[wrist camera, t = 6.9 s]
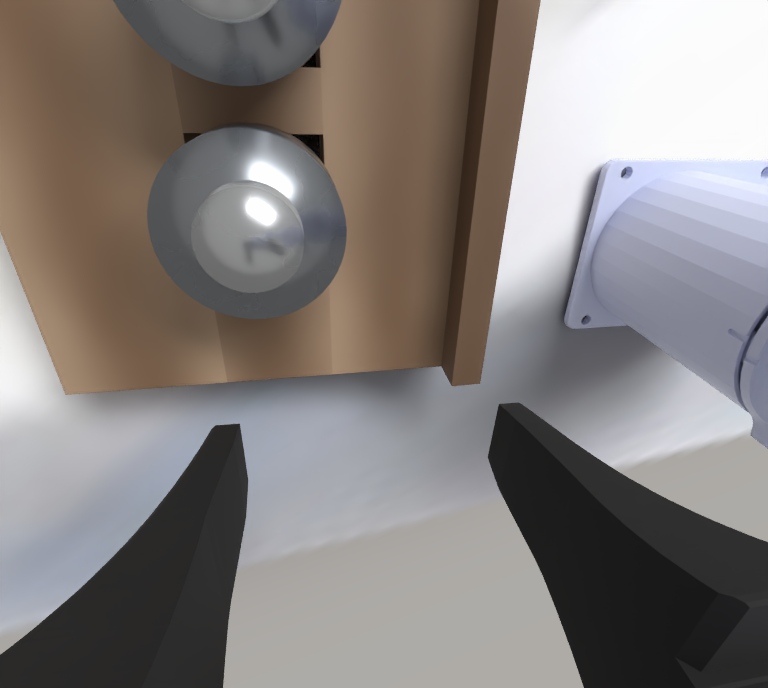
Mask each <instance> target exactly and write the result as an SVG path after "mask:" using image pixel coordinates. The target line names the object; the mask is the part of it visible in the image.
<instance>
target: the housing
mask: <svg viewBox="0 0 768 688" xmlns="http://www.w3.org/2000/svg"><path fill="white" fill-rule="evenodd" d="M539 7H540V0H342V1H341V5H340V8H339V11H338V13H337V16H336V19H335V21H334V24H333V26H332V27H331V29H330V31H329V33H328V35H327V37H326V38H325V40H324V41H323V43H322V44H321V45H320V47H319V48H318V49H317V51H316V52H315V55H316V68H312V67H300V68H299V69H297V70H296V71H295V72H293V73H292V74H290V75H288V76H286V77H284V78H282V79H280V80H277V81H274V82H271V83H266V84H261V85H254V86H231V85H223V84H219V83H214V82H210V81H207V80H204V79H202V78H199V77H196V76H194V75H192V74H190V73H188V72H186V71H184V70H182V69H180V68H178V67H177V66H175V65H174V64H172V63H171V62H169V61H168V60H166V59H165V58H164V57H162V56H161V55H160V54H159V53H157V52H156V51H155V50H154V49H153V48H152V47H150V46H149V45H148V44H147V43H146V42H145V41H144V40H143V39H142V38H141V37H140V36H139V35H138V33H137V32H136V31H135V30H134V29H133V28H132V27H131V25H130V24H129V23H128V22H127V20H126V19H125V18H124V16H123V15H122V14H121V12H120V11H119V9H118V8H117V6H116V5H115V3H114V1H113V0H0V231H1V234H2V236H3V239H4V241H5V244H6V246H7V249H8V251H9V254H10V256H11V259H12V261H13V264H14V266H15V269H16V271H17V274H18V276H19V279H20V281H21V284H22V286H23V289H24V291H25V294H26V296H27V299H28V301H29V304H30V306H31V309H32V311H33V314H34V316H35V319H36V321H37V324H38V326H39V329H40V331H41V334H42V336H43V339H44V341H45V344H46V346H47V349H48V351H49V354H50V356H51V359H52V361H53V364H54V366H55V369H56V371H57V374H58V376H59V379H60V381H61V384H62V386H63V389H64V391H65V394H66V395H68V394H81V393H94V392H107V391H120V390H133V389H146V388H160V387H173V386H186V385H199V384H212V383H225V382H239V381H252V380H265V379H278V378H291V377H304V376H318V375H331V374H344V373H357V372H370V371H383V370H396V369H410V368H423V367H436V366H442V368H443V370H444V372H445V374H446V376H447V378H448V380H449V382H450V383H451V385H452V386H457V385H469V384H480V380H481V374H482V368H483V361H484V355H485V349H486V342H487V336H488V330H489V323H490V317H491V311H492V304H493V298H494V292H495V285H496V279H497V273H498V266H499V260H500V254H501V247H502V241H503V235H504V228H505V222H506V216H507V209H508V203H509V197H510V190H511V184H512V178H513V171H514V165H515V159H516V152H517V146H518V140H519V133H520V127H521V121H522V114H523V108H524V102H525V95H526V89H527V83H528V76H529V70H530V64H531V57H532V51H533V45H534V38H535V32H536V26H537V19H538V13H539ZM238 122H251V123H260V124H265V125H269V126H272V127H275V128H278V129H281V130H283V131H285V132H287V133H289V134H319V149H320V160H321V161H322V163H323V164H324V166H325V167H326V168H327V170H328V172H329V174H330V176H331V178H332V180H333V182H334V185H335V187H336V190H337V192H338V195H339V197H340V200H341V202H342V205H343V209H344V213H345V218H346V227H347V237H346V247H345V253H344V256H343V259H342V263H341V265H340V267H339V270H338V272H337V274H336V275H335V277H334V279H333V280H332V282H331V283H330V285H329V286H328V287H327V288H326V289H325V291H324V292H323V293H322V294H320V295H319V296H318V297H317V298H316V299H315V300H313V301H312V302H311V303H309V304H308V305H306V306H304V307H303V308H301V309H299V310H297V311H294V312H292V313H289V314H287V315H283V316H279V317H275V318H267V319H246V318H238V317H233V316H229V315H226V314H222V313H219V312H217V311H214V310H212V309H210V308H208V307H206V306H204V305H202V304H201V303H199V302H197V301H195V300H194V299H193V298H191V297H190V296H189V295H187V294H186V293H185V292H184V291H183V290H182V289H181V288H179V287H178V286H177V285H176V284H175V283H174V281H173V280H172V279H171V278H170V277H169V275H168V274H167V273H166V271H165V270H164V268H163V267H162V265H161V263H160V262H159V260H158V258H157V255H156V253H155V251H154V249H153V246H152V243H151V240H150V235H149V230H148V222H147V208H148V199H149V195H150V191H151V187H152V185H153V182H154V180H155V178H156V175H157V174H158V172H159V170H160V169H161V167H162V166H163V164H164V163H165V162H166V161H167V159H168V158H169V157H170V156H171V155H172V154H173V153H174V152H175V151H176V150H178V149H179V148H180V147H181V146H182V145H184V144H186V143H187V142H189V141H191V140H192V139H194V138H196V137H197V136H199V135H201V133H204V132H206V131H208V130H210V129H213V128H215V127H218V126H221V125H225V124H229V123H238Z"/></svg>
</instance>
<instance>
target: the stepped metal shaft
mask: <svg viewBox="0 0 768 688" xmlns="http://www.w3.org/2000/svg"><path fill="white" fill-rule="evenodd" d="M147 222H148V230H149V235H150V240H151V243H152V246H153V249H154V251H155V253H156V255H157V258H158V260H159V262H160V263H161V265H162V267H163V268H164V270H165V271H166V273H167V274H168V275H169V277H170V278H171V279H172V280H173V281H174V283H175V284H176V285H177V286H178V287H179V288H181V289H182V290H183V291H184V292H185V293H186V294H187V295H189V296H190V297H191V298H193V299H194V300H195V301H197V302H199V303H201V304H202V305H204V306H206V307H208V308H210V309H212V310H214V311H217V312H219V313H222V314H226V315H229V316H233V317H238V318H246V319H267V318H275V317H279V316H283V315H287V314H289V313H292V312H294V311H297V310H299V309H301V308H303V307H304V306H306V305H308V304H309V303H311V302H312V301H313V300H315V299H316V298H317V297H318V296H319V295H320V294H322V293H323V292H324V291H325V289H326V288H327V287H328V286H329V285H330V283H331V282H332V280H333V279H334V277H335V275H336V274H337V272H338V270H339V267H340V265H341V263H342V259H343V256H344V253H345V247H346V237H347V227H346V218H345V213H344V209H343V205H342V202H341V200H340V197H339V195H338V192H337V190H336V187H335V185H334V182H333V180H332V178H331V176H330V174H329V172H328V170H327V168H326V167H325V166H324V164H323V163H322V161H321V160H320V159H319V157H318V156H317V155H316V154H315V153H314V152H313V151H312V150H311V149H310V148H309V147H308V146H307V145H305V144H304V143H303V142H302V141H300V140H299V139H297V138H296V137H294V136H293V135H291V134H289V133H287V132H285V131H283V130H281V129H278V128H275V127H272V126H269V125H265V124H260V123H251V122H238V123H229V124H225V125H221V126H218V127H215V128H213V129H210V130H208V131H206V132H204V133H203V134H201V135H199V136H197V137H196V138H194V139H192V140H191V141H189V142H187V143H186V144H184V145H182V146H181V147H180V148H179V149H178V150H176V151H175V152H174V153H173V154H172V155H171V156H170V157H169V158H168V159H167V161H166V162H165V163H164V164H163V166H162V167H161V169H160V170H159V172H158V174H157V175H156V178H155V180H154V182H153V185H152V187H151V191H150V195H149V199H148V208H147Z"/></svg>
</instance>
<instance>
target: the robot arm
mask: <svg viewBox="0 0 768 688" xmlns="http://www.w3.org/2000/svg"><path fill="white" fill-rule="evenodd" d="M625 167H626V168H627V172H626V174H625V175H624V176H623V177H621V172H622V170H623V169H624V168H625ZM763 169H764V171H763ZM762 171H763V173H762V174H761V172H762ZM584 316H587V317H586V319H584V320H583V321H581V320H582V318H583V317H584ZM564 322H565V324H566V325H567V326H568V327H569V328H571V329H583V328H598V327H613V326H630V327H631V328H633V329H634V330H635V331H637V332H638V333H640V334H641V335H642V336H644V337H645V338H646V339H648V340H649V341H651V342H652V343H653V344H655V345H656V346H657V347H659V348H660V349H662V350H663V351H664V352H666V353H667V354H668V355H670V356H671V357H673V358H674V359H675V360H677V361H678V362H679V363H681V364H682V365H684V366H685V367H686V368H688V369H689V370H691V371H692V372H693V373H695V374H696V375H697V376H699V377H700V378H702V379H703V380H704V381H706V382H707V383H708V384H710V385H711V386H713V387H714V388H715V389H717V390H718V391H719V392H721V393H722V394H724V395H725V396H726V397H728V398H729V399H730V400H732V401H733V402H735V403H736V404H737V405H739V406H740V407H742V408H743V409H744V410H746V411H747V412H749V413H750V414H751V416H752V418H753V427H752V430H751V436H752V437H753V438H755V439H756V440H757V441H759V442H760V443H761V444H762V445H764V446H765V447H766V448H768V159H613V160H610V161H608V162H607V163H606V164H605V165H604V166H603V168H602V170H601V173H600V177H599V181H598V185H597V189H596V193H595V197H594V201H593V205H592V209H591V213H590V217H589V221H588V225H587V229H586V233H585V237H584V241H583V245H582V249H581V253H580V257H579V261H578V265H577V269H576V273H575V277H574V281H573V285H572V289H571V293H570V297H569V301H568V305H567V309H566V314H565V318H564ZM488 459H489V462H490V465H491V468H492V471H493V474H494V477H495V479H496V482H497V485H498V487H499V490H500V492H501V494H502V496H503V498H504V500H505V502H506V504H507V506H508V508H509V510H510V512H511V514H512V516H513V517H514V519H515V521H516V523H517V525H518V527H519V529H520V531H521V533H522V535H523V537H524V539H525V540H526V542H527V544H528V546H529V548H530V550H531V552H532V554H533V556H534V558H535V560H536V562H537V564H538V566H539V568H540V571H541V573H542V575H543V577H544V580H545V582H546V585H547V587H548V590H549V592H550V595H551V597H552V600H553V602H554V605H555V607H556V610H557V613H558V615H559V618H560V621H561V624H562V626H563V629H564V632H565V634H566V637H567V640H568V642H569V645H570V648H571V651H572V654H573V657H574V659H575V662H576V665H577V668H578V671H579V674H580V677H581V680H582V683H583V686H584V688H768V542H766V541H763V540H760V539H757V538H755V537H752V536H749V535H747V534H744V533H742V532H739V531H737V530H735V529H732V528H729V527H727V526H725V525H722V524H720V523H718V522H715V521H713V520H711V519H708V518H706V517H704V516H701V515H699V514H697V513H695V512H693V511H691V510H689V509H687V508H684V507H682V506H680V505H678V504H676V503H674V502H672V501H670V500H668V499H666V498H664V497H662V496H660V495H658V494H656V493H655V492H653V491H651V490H649V489H647V488H646V487H644V486H642V485H640V484H638V483H637V482H635V481H633V480H631V479H629V478H628V477H626V476H624V475H623V474H621V473H619V472H618V471H616V470H615V469H613V468H611V467H610V466H608V465H607V464H605V463H604V462H602V461H601V460H599V459H597V458H596V457H594V456H593V455H591V454H590V453H589V452H587V451H586V450H584V449H583V448H581V447H580V446H578V445H577V444H576V443H574V442H573V441H571V440H570V439H569V438H567V437H566V436H564V435H563V434H562V433H560V432H559V431H558V430H556V429H555V428H553V427H552V426H551V425H549V424H548V423H547V422H545V421H544V420H543V419H541V418H540V417H539V416H537V415H536V414H534V413H533V412H532V411H530V410H529V409H527V408H526V407H525V406H523V405H522V404H520V403H508V404H499V406H498V411H497V416H496V421H495V426H494V430H493V435H492V440H491V445H490V449H489V454H488ZM247 492H248V476H247V469H246V463H245V456H244V449H243V443H242V436H241V429H240V424H230V425H217V426H215V427H213V428H212V429H211V431H210V433H209V434H208V436H207V438H206V439H205V441H204V443H203V444H202V446H201V447H200V449H199V451H198V452H197V454H196V455H195V457H194V458H193V460H192V461H191V463H190V464H189V466H188V467H187V468H186V470H185V471H184V472H183V474H182V475H181V477H180V478H179V479H178V481H177V482H176V484H175V485H174V486H173V488H172V489H171V490H170V492H169V493H168V494H167V496H166V497H165V498H164V499H163V500H162V502H161V503H160V504H159V505H158V507H157V508H156V509H155V510H154V512H153V513H152V514H151V515H150V517H149V518H148V519H147V520H146V521H145V523H144V524H143V525H142V526H141V527H140V528H139V529H138V531H137V532H136V533H135V534H134V535H133V536H132V537H131V538H130V539H129V540H128V542H127V543H126V544H125V545H124V546H123V547H122V548H121V549H120V550H119V551H118V552H117V553H116V554H115V555H114V556H113V557H112V558H111V559H110V560H109V561H108V562H107V563H106V564H105V565H104V566H103V567H102V568H101V569H100V570H99V571H98V572H97V573H96V574H95V575H94V576H93V577H92V578H91V579H90V580H89V581H88V582H87V583H86V584H85V585H83V586H82V587H81V588H80V589H79V590H78V591H77V592H76V593H75V594H74V595H73V596H71V597H70V598H69V599H68V600H67V601H66V602H64V603H63V604H62V605H61V606H60V607H59V608H57V609H56V610H55V611H54V612H53V613H52V614H50V615H49V616H48V617H47V618H46V619H45V620H43V621H42V622H41V623H40V624H39V625H38V626H36V627H35V628H34V629H33V630H32V631H30V632H29V633H28V634H27V635H25V636H24V637H23V638H22V639H20V640H19V641H18V642H17V643H15V644H14V645H13V646H11V647H10V648H9V649H8V650H6V651H5V652H3V653H2V654H1V655H0V688H223V679H224V666H225V653H226V641H227V630H228V619H229V612H230V604H231V598H232V592H233V587H234V581H235V576H236V570H237V565H238V559H239V554H240V548H241V542H242V537H243V531H244V525H245V519H246V508H247Z"/></svg>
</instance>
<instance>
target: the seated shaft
mask: <svg viewBox="0 0 768 688" xmlns="http://www.w3.org/2000/svg"><path fill="white" fill-rule="evenodd" d="M113 1H114V3H115V5H116V6H117V8H118V9H119V11H120V12H121V14H122V15H123V16H124V18H125V19H126V20H127V22H128V23H129V24H130V25H131V27H132V28H133V29H134V30H135V31H136V32H137V33H138V35H139V36H140V37H141V38H142V39H143V40H144V41H145V42H146V43H147V44H148V45H149V46H150V47H152V48H153V49H154V50H155V51H156V52H157V53H159V54H160V55H161V56H162V57H164V58H165V59H166V60H168V61H169V62H171V63H172V64H174V65H175V66H177V67H178V68H180V69H182V70H184V71H186V72H188V73H190V74H192V75H194V76H196V77H199V78H202V79H204V80H207V81H210V82H214V83H219V84H223V85H231V86H254V85H261V84H266V83H271V82H274V81H277V80H280V79H282V78H284V77H286V76H288V75H290V74H292V73H293V72H295V71H296V70H297V69H299V68H300V67H301V66H303V65H304V64H305V63H306V62H307V61H308V60H309V59H310V58H311V57H312V56H313V54H314V53H315V52H316V51H317V49H318V48H319V47H320V45H321V44H322V43H323V41H324V40H325V38H326V37H327V35H328V33H329V31H330V29H331V27H332V26H333V24H334V21H335V19H336V16H337V13H338V11H339V8H340V5H341V1H342V0H113Z"/></svg>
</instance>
